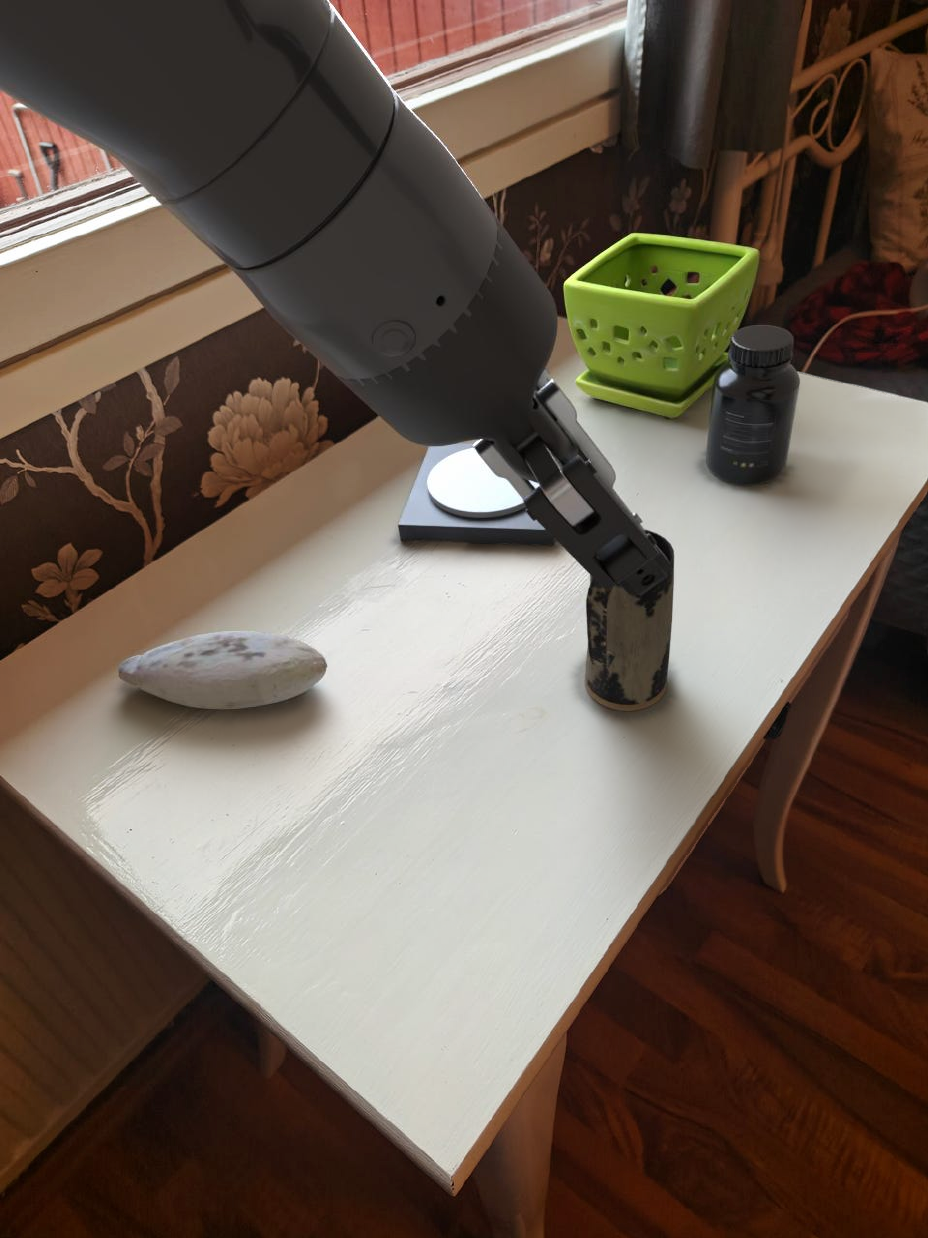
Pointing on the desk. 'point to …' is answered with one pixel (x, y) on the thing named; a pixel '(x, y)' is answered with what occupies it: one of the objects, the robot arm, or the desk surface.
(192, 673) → the decorative stone
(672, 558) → the mug
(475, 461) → the scale
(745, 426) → the supplement bottle
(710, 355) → the flower pot
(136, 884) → the desk surface
